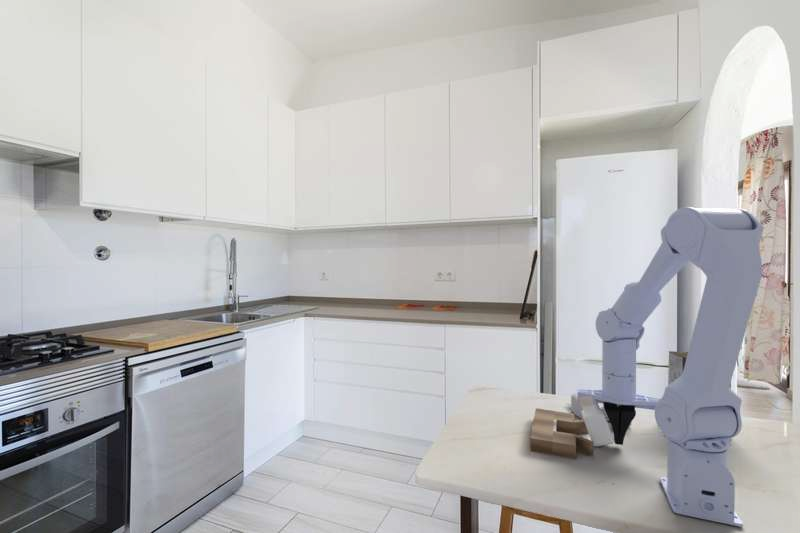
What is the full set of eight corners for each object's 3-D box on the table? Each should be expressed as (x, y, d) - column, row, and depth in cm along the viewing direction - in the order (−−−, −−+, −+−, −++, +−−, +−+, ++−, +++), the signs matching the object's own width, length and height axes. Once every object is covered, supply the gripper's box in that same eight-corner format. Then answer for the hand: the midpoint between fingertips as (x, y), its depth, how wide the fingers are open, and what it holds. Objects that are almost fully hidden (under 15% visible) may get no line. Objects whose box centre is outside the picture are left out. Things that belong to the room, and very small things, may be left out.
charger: (595, 403, 100) (631, 428, 85) (560, 403, 99) (589, 428, 84) (595, 384, 99) (631, 406, 84) (560, 385, 99) (589, 407, 84)
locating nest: (594, 462, 70) (594, 448, 70) (530, 450, 74) (530, 437, 74) (589, 427, 85) (589, 415, 85) (535, 419, 89) (535, 408, 89)
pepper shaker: (591, 439, 79) (574, 393, 80) (612, 435, 78) (595, 389, 79) (593, 448, 75) (576, 400, 76) (616, 444, 74) (598, 395, 75)
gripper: (658, 371, 76) (657, 440, 76) (577, 363, 82) (576, 427, 82) (667, 381, 70) (666, 456, 70) (578, 372, 75) (577, 442, 76)
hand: (618, 442), depth 75 cm, fingers closed
